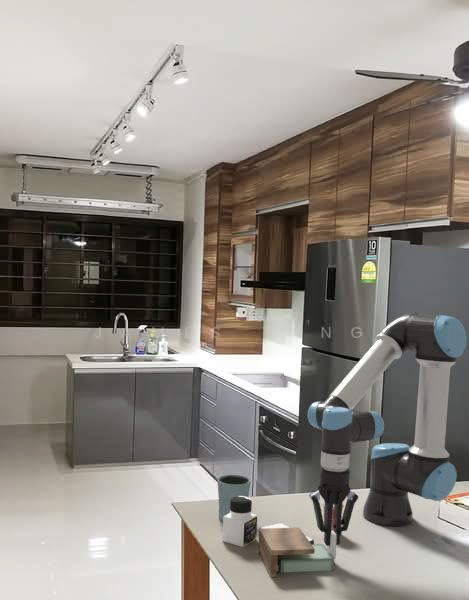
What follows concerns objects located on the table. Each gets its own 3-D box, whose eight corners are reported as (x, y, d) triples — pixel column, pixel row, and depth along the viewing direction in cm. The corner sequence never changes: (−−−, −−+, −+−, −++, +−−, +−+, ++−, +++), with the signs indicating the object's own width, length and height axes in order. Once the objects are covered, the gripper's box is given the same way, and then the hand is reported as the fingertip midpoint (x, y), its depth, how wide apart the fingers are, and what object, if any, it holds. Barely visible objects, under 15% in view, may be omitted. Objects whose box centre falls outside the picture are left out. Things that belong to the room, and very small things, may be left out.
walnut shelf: (298, 552, 177) (299, 527, 177) (313, 575, 163) (314, 549, 163) (258, 553, 175) (259, 528, 175) (270, 577, 161) (271, 550, 161)
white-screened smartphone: (257, 532, 191) (291, 551, 178) (257, 527, 191) (291, 546, 178) (281, 527, 196) (316, 545, 183) (281, 522, 196) (316, 540, 183)
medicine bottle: (243, 547, 179) (245, 504, 178) (221, 541, 182) (223, 498, 182) (256, 539, 185) (258, 497, 184) (235, 533, 188) (237, 492, 188)
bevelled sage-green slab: (322, 555, 176) (323, 544, 176) (333, 570, 167) (334, 558, 167) (272, 557, 173) (272, 545, 173) (280, 572, 164) (281, 560, 164)
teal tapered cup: (226, 526, 193) (227, 486, 193) (209, 515, 202) (211, 476, 202) (255, 521, 199) (256, 482, 198) (238, 510, 207) (239, 472, 207)
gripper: (315, 472, 166) (311, 564, 167) (364, 471, 168) (360, 562, 169) (306, 463, 173) (303, 552, 174) (353, 463, 175) (349, 550, 176)
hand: (331, 557), depth 171 cm, fingers closed
